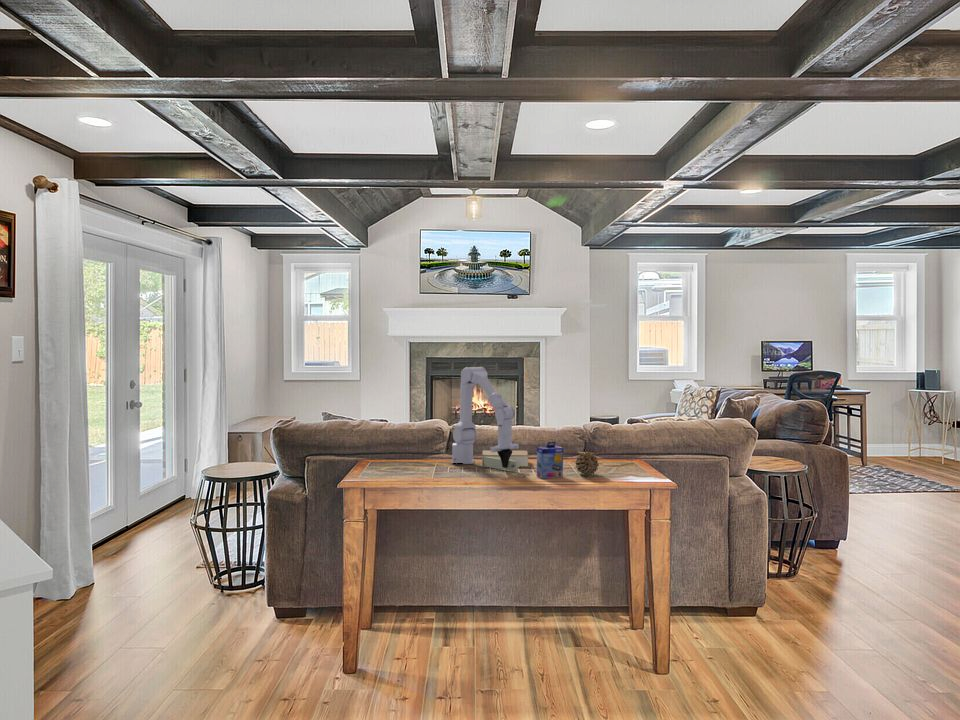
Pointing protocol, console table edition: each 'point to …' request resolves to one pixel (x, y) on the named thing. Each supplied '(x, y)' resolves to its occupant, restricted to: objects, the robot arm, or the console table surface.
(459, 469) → the console table surface
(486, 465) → the door
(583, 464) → the pine cone
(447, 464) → the console table surface
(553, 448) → the ink cartridge box
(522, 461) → the beige flat box
